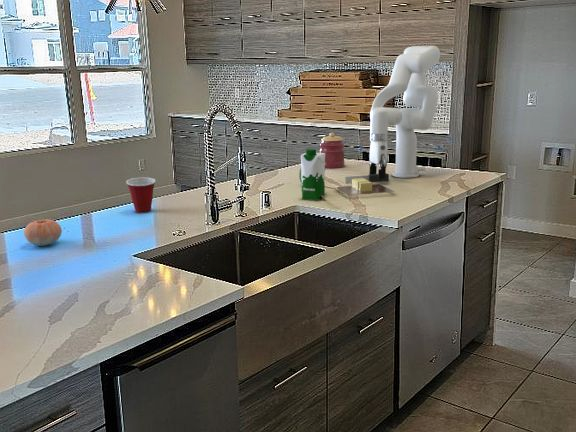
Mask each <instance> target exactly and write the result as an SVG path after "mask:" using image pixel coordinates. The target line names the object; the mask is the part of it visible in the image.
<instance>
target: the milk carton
mask: <svg viewBox="0 0 576 432" xmlns="http://www.w3.org/2000/svg"><path fill="white" fill-rule="evenodd" d="M300 168H301V174H302V183H301V200H307V201H308V200H309V201H320V200H321V199H323V198H324V197H323V196H324V195H325V194H326V193H325V191H326V189H325V187H326V186H325V185H326V180H325V179H326V177H325V175H326V172H325V171H326V170H325V169H326V168H325V153H320V152H317V149H316V148H307V149H305V152H304V153H302V154H300Z"/></svg>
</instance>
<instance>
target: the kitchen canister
mask: <svg viewBox="0 0 576 432" xmlns="http://www.w3.org/2000/svg"><path fill="white" fill-rule="evenodd" d="M320 140H321V142H320V143H319V147H320V149H319V153H325V169H340V168H343V167H345V151H346V150H345V148H344V146H345V142H344V141H343V140H344V139H343V137H341V136H339V135H335V133H334V132H333V131H332V132H329V135H327V136H323V137H322V138H321V139H320Z"/></svg>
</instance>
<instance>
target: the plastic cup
mask: <svg viewBox="0 0 576 432" xmlns="http://www.w3.org/2000/svg"><path fill="white" fill-rule="evenodd" d="M156 182H157V181H156V179H155V178H153V177H144V176H141V177H132V178H130V179H127V180H126V181H125V183H126V185H127V187H128V190H129V193H130V197H131V201H132V205H133V208H134V211H135V213H138V214H145V213H149V212H152V206H153V205H152V204H153V196H154V188H155V184H156Z"/></svg>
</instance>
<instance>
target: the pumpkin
mask: <svg viewBox="0 0 576 432" xmlns="http://www.w3.org/2000/svg"><path fill="white" fill-rule="evenodd" d="M62 229H63V228H62V226H61V225H60V223H58V222H57V221H55V220H53V219H49V218H47V219H46V218H43V219H42V218H41V219H36V220H33V221H31V222H30V223H28V224H27V225H26V226H25V228H24V231H23V236H24V238H25V240H26V241H27V242H28V243H29V244H31V245H34V246H39V247H44V246H49V245H52V244H55V243H56V242H57V241H58V240H59V239H60V238H61V237H62V231H63V230H62Z"/></svg>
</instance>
